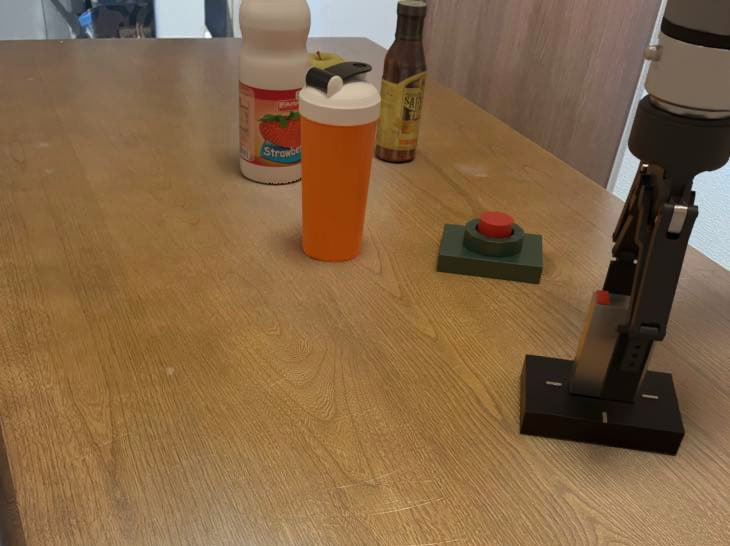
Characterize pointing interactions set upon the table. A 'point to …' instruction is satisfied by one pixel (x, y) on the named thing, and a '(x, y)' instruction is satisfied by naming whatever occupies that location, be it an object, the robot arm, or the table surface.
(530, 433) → the panel
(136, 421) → the table surface
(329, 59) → the apple
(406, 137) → the sauce bottle
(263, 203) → the table surface
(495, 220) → the button
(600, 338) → the grey tall block
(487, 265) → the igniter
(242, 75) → the fruit juice
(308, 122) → the shaker bottle
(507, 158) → the table surface
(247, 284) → the table surface
